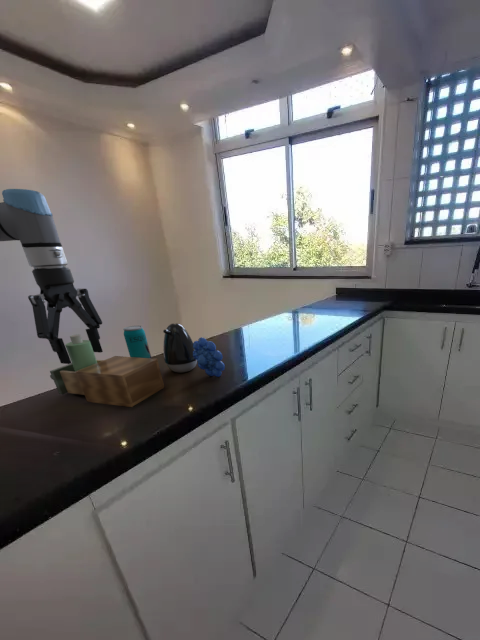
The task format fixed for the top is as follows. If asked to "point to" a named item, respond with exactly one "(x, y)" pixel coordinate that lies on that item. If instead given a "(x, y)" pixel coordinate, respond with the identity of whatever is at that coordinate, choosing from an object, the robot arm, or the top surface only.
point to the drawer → (67, 379)
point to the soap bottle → (80, 352)
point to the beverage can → (136, 342)
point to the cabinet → (121, 380)
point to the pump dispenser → (178, 349)
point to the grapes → (208, 357)
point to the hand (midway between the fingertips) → (82, 357)
